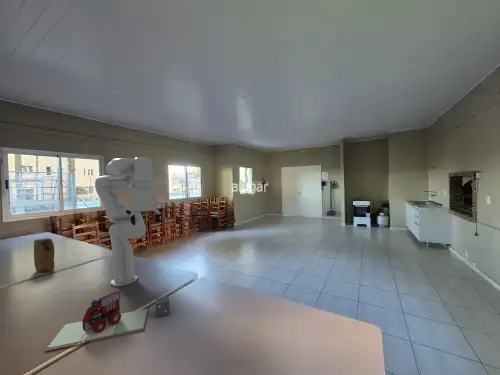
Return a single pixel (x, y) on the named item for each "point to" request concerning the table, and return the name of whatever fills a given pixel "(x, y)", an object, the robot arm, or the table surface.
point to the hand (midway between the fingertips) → (146, 223)
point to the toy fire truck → (102, 313)
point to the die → (162, 306)
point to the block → (44, 255)
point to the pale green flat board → (76, 334)
